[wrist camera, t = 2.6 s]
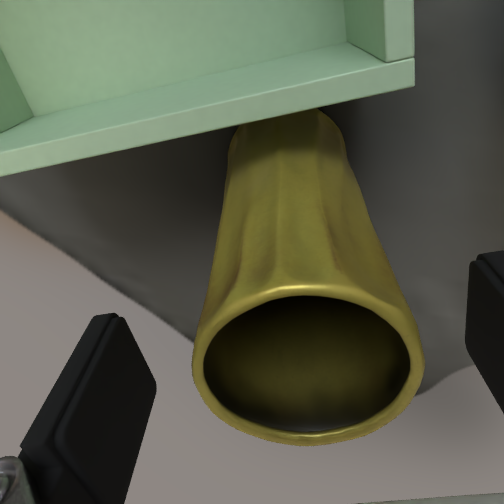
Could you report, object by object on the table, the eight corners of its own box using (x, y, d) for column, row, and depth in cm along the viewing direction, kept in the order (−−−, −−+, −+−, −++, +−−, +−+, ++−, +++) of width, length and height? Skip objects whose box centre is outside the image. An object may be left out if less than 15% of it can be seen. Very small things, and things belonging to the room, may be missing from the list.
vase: (327, 222, 23) (390, 471, 11) (220, 203, 23) (162, 439, 10) (361, 113, 20) (504, 295, 8) (237, 89, 19) (180, 240, 7)
